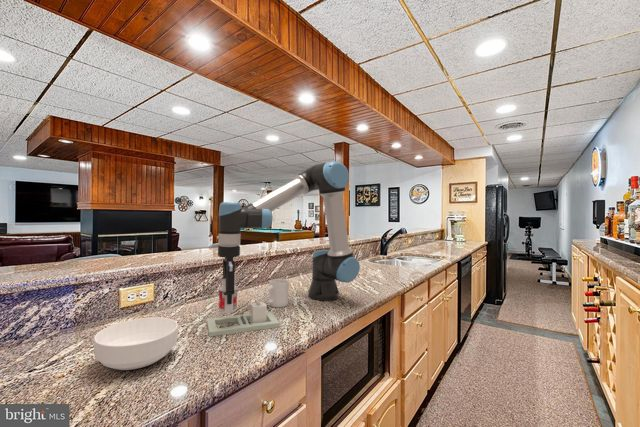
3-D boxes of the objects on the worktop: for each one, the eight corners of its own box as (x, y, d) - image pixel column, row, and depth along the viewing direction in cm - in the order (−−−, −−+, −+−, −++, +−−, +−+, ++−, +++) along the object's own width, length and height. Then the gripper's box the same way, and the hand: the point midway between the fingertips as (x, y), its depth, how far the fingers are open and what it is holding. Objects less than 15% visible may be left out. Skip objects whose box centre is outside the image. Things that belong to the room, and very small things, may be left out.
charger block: (263, 319, 114) (263, 301, 114) (266, 324, 110) (266, 304, 110) (249, 321, 112) (250, 302, 112) (252, 326, 108) (253, 306, 108)
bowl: (82, 387, 69) (82, 351, 69) (104, 350, 87) (105, 321, 87) (175, 371, 77) (176, 339, 77) (178, 340, 95) (179, 314, 95)
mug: (258, 306, 130) (259, 282, 130) (279, 300, 139) (280, 277, 139) (271, 311, 124) (271, 285, 124) (292, 304, 133) (292, 281, 133)
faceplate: (270, 315, 120) (270, 309, 119) (279, 327, 108) (279, 321, 108) (207, 322, 110) (207, 317, 110) (209, 336, 98) (209, 330, 98)
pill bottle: (222, 307, 110) (222, 277, 109) (238, 307, 110) (239, 277, 109) (216, 313, 103) (216, 281, 103) (233, 313, 103) (234, 281, 103)
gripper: (215, 242, 113) (214, 302, 114) (220, 249, 96) (218, 320, 96) (236, 242, 117) (234, 301, 117) (244, 248, 99) (242, 317, 99)
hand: (227, 309), depth 106 cm, fingers closed on pill bottle, 6 cm apart
